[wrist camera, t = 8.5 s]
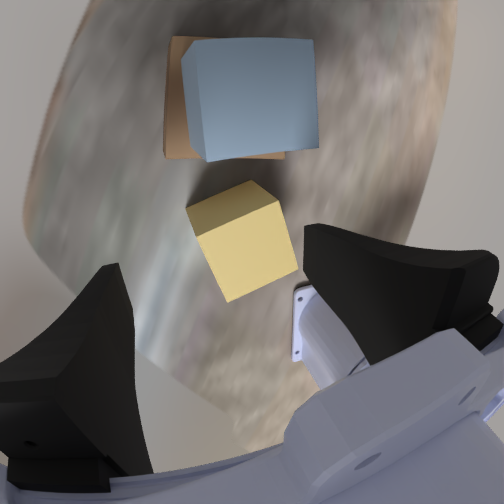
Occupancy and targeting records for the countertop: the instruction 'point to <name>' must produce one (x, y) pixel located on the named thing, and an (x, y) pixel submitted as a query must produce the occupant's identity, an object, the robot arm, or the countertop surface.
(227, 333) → the countertop surface
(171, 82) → the walnut block
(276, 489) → the robot arm
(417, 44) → the countertop surface
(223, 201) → the mustard cube
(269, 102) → the blue cube
